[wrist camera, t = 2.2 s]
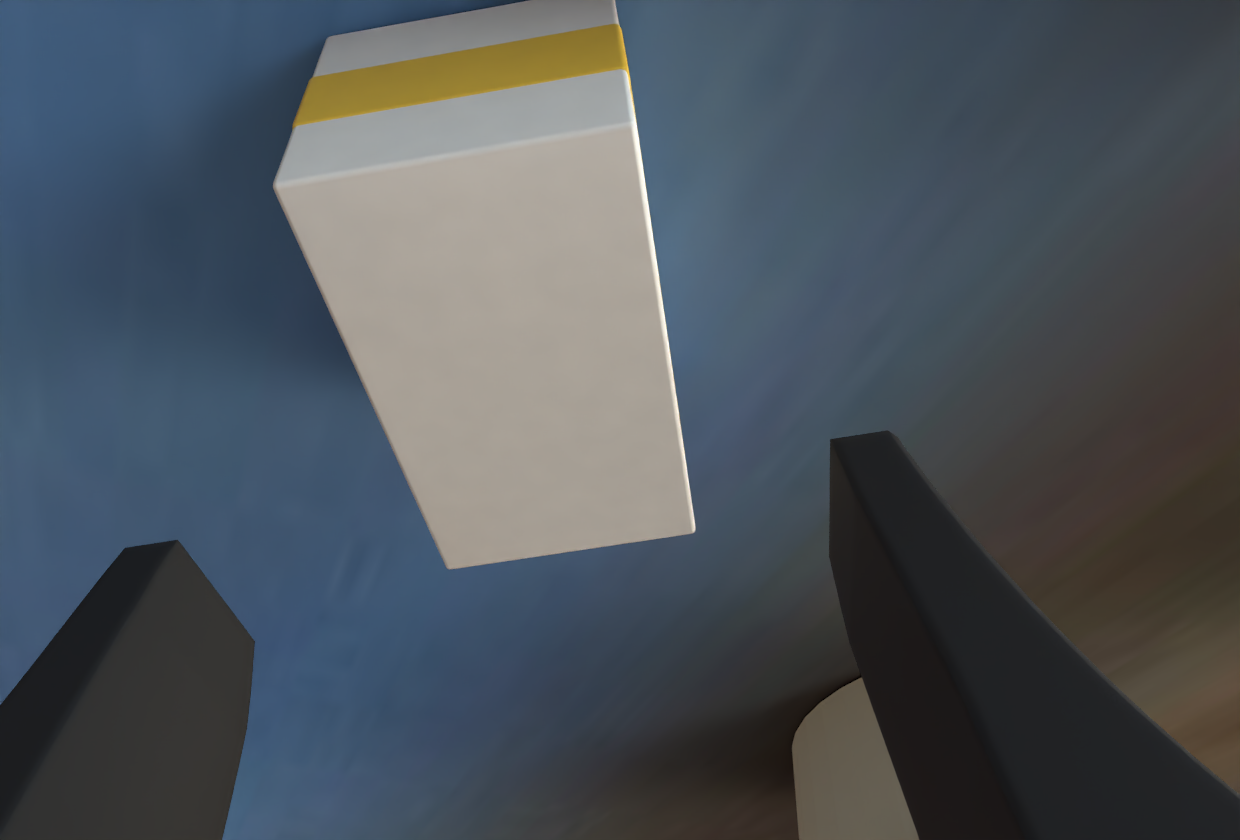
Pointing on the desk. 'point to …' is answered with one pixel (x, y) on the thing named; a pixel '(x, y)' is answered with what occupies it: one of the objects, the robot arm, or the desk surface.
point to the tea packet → (496, 273)
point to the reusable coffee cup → (847, 773)
